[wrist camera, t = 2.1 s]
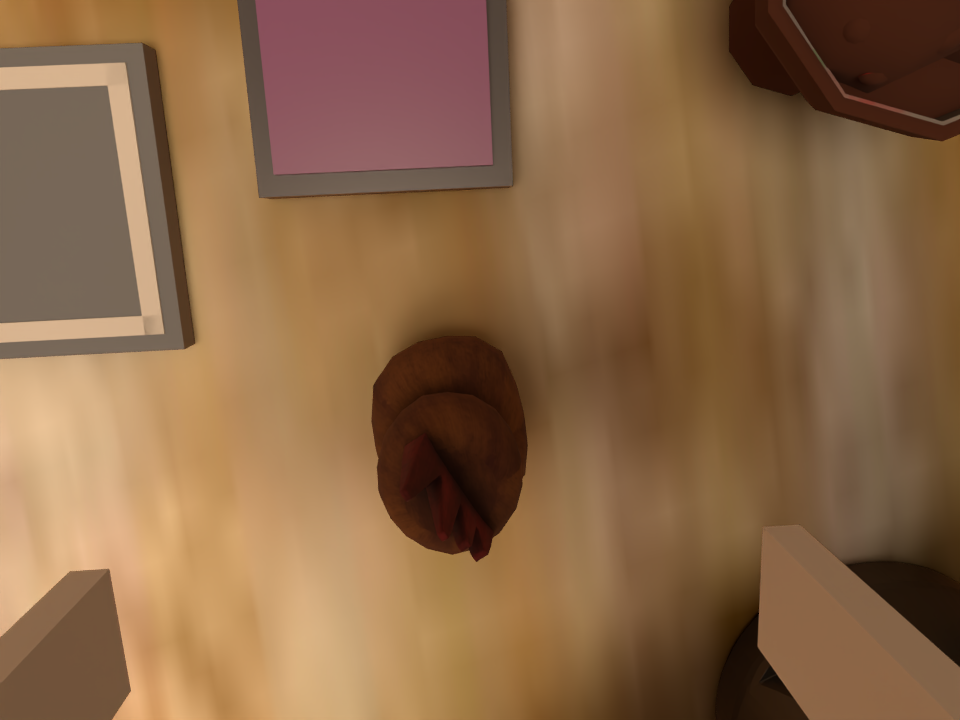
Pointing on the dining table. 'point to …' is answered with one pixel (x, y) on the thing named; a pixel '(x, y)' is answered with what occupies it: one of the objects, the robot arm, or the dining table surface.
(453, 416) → the wooden figurine
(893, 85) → the ice cream bowl
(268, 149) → the ink pad
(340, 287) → the dining table surface
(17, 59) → the marked board
